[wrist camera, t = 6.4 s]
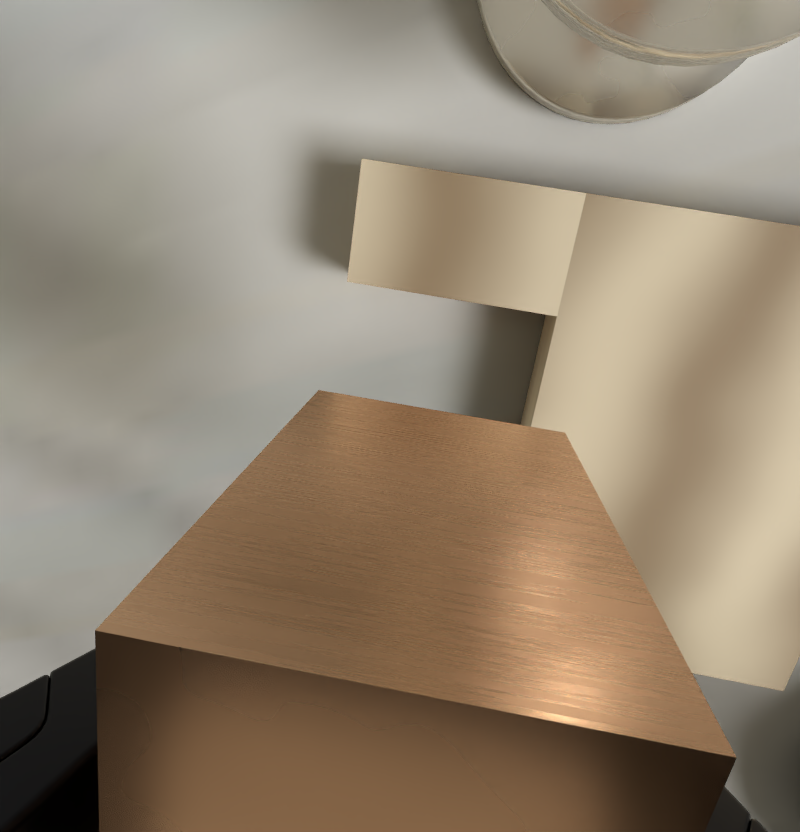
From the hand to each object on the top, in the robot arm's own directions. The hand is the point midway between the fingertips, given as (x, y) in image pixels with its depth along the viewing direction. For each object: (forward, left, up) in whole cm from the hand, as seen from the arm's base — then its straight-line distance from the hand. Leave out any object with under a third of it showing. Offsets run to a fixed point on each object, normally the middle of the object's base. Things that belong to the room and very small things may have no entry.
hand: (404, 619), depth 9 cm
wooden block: (0, 0, -2) cm, 2 cm away
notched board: (-5, 0, -11) cm, 12 cm away
